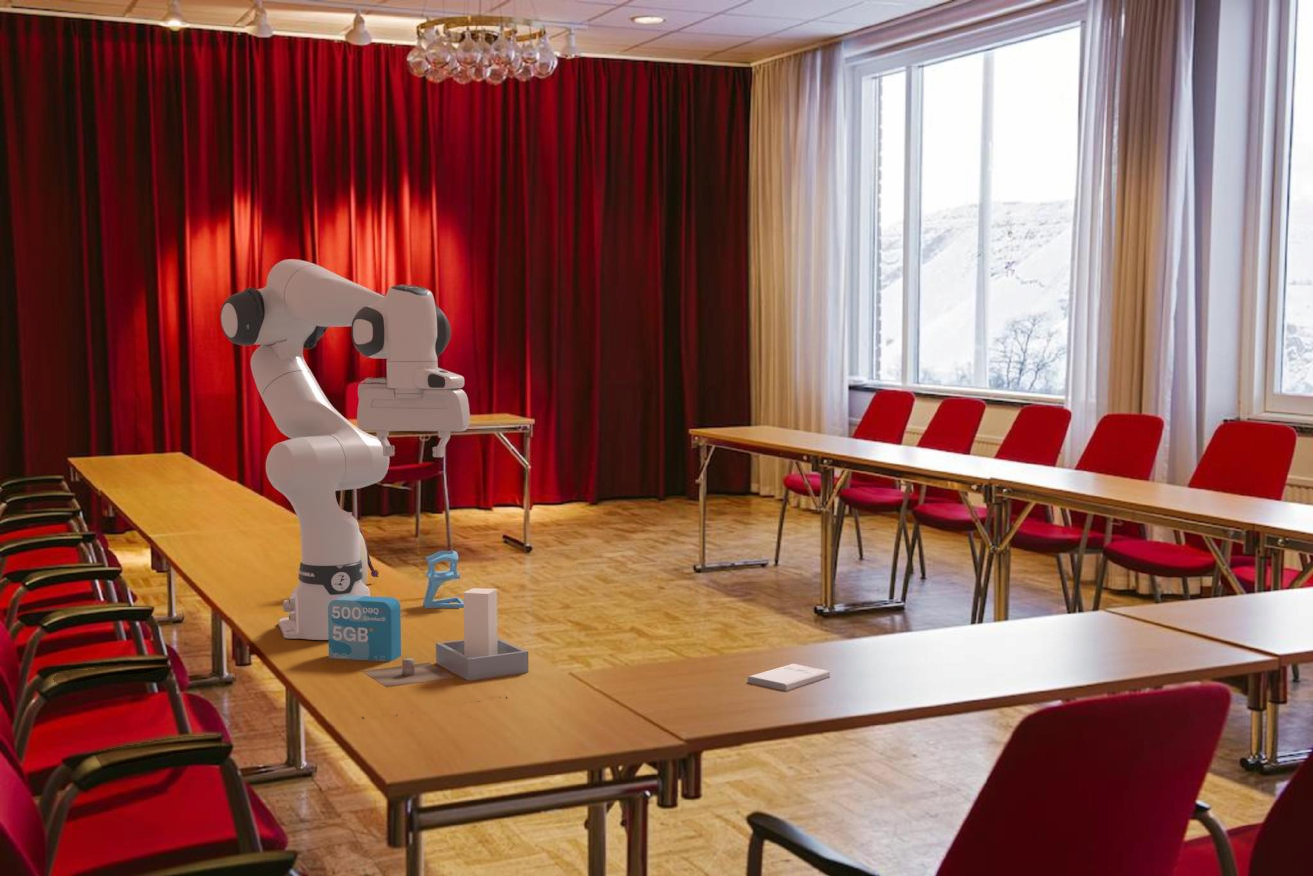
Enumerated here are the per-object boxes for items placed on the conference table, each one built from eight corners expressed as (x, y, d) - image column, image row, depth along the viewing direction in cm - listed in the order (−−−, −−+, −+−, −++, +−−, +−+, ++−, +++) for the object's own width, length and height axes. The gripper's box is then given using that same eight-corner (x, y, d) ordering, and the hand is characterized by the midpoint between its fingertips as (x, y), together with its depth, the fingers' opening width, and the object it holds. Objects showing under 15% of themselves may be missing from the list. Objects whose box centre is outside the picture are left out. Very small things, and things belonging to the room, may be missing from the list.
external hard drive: (747, 685, 229) (791, 671, 238) (786, 693, 223) (829, 679, 232) (747, 675, 228) (791, 662, 238) (786, 684, 223) (829, 670, 232)
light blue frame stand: (421, 604, 295) (420, 549, 294) (459, 601, 298) (458, 547, 297) (426, 610, 288) (425, 555, 287) (465, 608, 290) (464, 552, 289)
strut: (464, 673, 231) (463, 592, 230) (473, 667, 235) (472, 588, 234) (488, 675, 230) (488, 593, 229) (497, 669, 234) (497, 589, 233)
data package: (328, 666, 240) (327, 599, 239) (339, 660, 244) (338, 594, 243) (391, 670, 237) (390, 602, 236) (401, 664, 241) (400, 597, 240)
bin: (436, 671, 236) (436, 643, 235) (494, 663, 241) (493, 635, 241) (468, 689, 224) (468, 659, 223) (528, 680, 230) (528, 651, 229)
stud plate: (362, 679, 230) (361, 656, 230) (428, 670, 236) (428, 648, 236) (386, 696, 220) (386, 671, 219) (455, 686, 226) (455, 662, 226)
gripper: (349, 378, 237) (351, 456, 238) (459, 378, 232) (460, 459, 233) (365, 377, 243) (367, 453, 244) (472, 377, 238) (473, 456, 239)
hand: (413, 456), depth 238 cm, fingers open, 8 cm apart
